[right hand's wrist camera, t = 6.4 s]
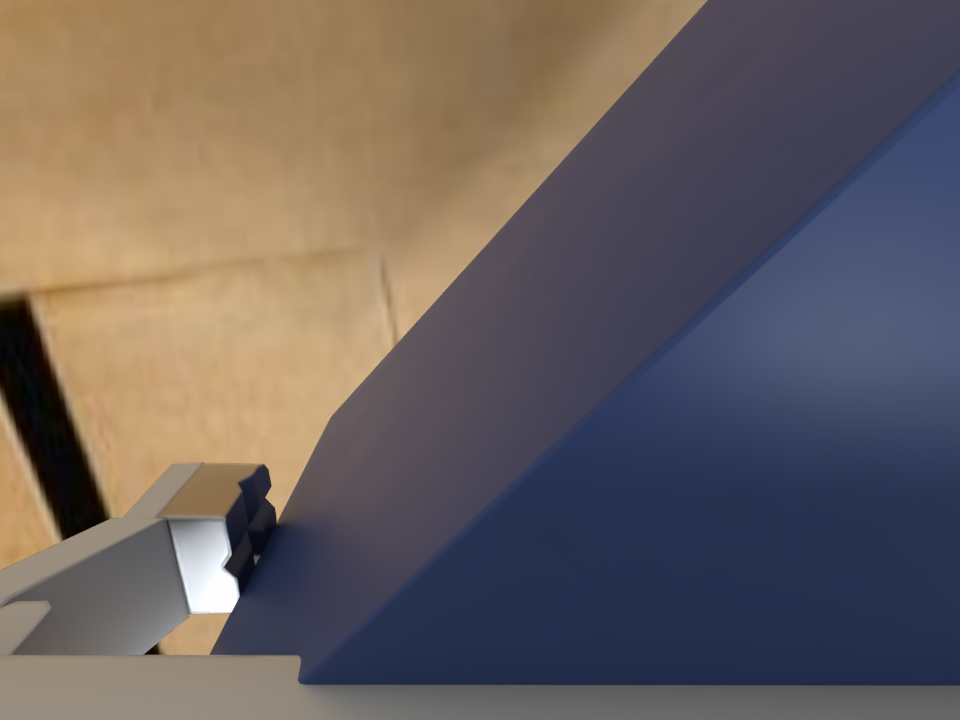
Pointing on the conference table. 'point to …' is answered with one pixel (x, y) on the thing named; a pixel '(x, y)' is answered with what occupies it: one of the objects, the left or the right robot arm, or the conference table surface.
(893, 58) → the bar
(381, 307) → the conference table surface
